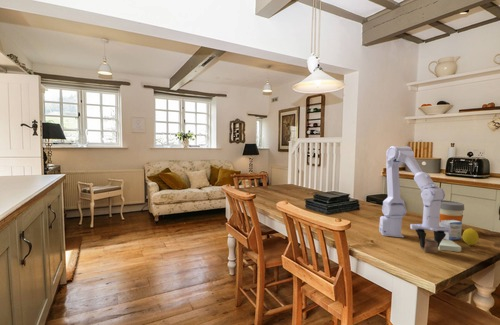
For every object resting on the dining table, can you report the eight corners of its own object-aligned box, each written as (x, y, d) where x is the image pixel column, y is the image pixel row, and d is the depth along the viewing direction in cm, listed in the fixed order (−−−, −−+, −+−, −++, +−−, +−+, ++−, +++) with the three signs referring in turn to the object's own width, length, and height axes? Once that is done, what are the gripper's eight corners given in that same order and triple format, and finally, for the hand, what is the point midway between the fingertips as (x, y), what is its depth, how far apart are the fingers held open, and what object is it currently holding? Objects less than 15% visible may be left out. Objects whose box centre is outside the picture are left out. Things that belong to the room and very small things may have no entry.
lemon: (461, 242, 119) (463, 225, 119) (477, 245, 116) (478, 228, 115) (461, 245, 115) (463, 228, 115) (478, 249, 112) (479, 231, 111)
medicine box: (448, 240, 121) (450, 222, 120) (439, 237, 125) (440, 220, 125) (461, 239, 123) (462, 221, 122) (451, 236, 127) (452, 219, 127)
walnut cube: (425, 252, 107) (425, 241, 107) (420, 247, 111) (421, 237, 111) (437, 253, 106) (438, 242, 106) (432, 249, 110) (433, 239, 110)
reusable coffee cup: (434, 231, 134) (436, 203, 133) (431, 225, 145) (432, 199, 144) (465, 236, 128) (467, 206, 127) (459, 229, 139) (461, 201, 138)
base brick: (439, 250, 110) (439, 245, 110) (430, 243, 118) (431, 238, 118) (460, 252, 108) (461, 247, 108) (450, 245, 116) (451, 240, 116)
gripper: (415, 216, 106) (413, 249, 106) (456, 220, 102) (453, 253, 103) (409, 212, 112) (407, 242, 113) (447, 215, 109) (444, 246, 110)
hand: (428, 247), depth 109 cm, fingers closed on walnut cube, 4 cm apart
